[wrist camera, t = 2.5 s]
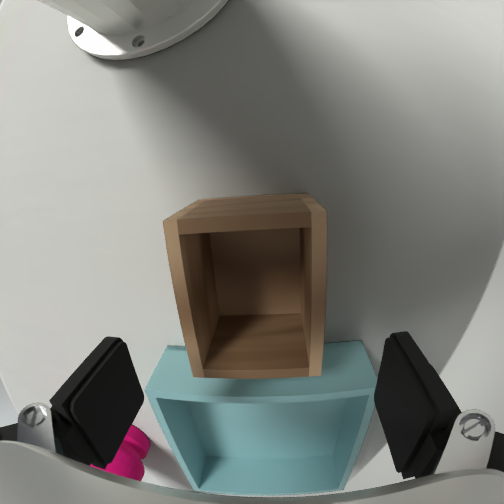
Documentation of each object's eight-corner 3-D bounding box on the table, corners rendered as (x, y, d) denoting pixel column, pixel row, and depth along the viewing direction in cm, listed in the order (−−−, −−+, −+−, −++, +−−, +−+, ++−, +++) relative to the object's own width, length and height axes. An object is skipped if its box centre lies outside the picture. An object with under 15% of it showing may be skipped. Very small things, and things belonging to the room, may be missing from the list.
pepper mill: (161, 435, 25) (106, 594, 6) (147, 458, 27) (102, 587, 8) (99, 403, 24) (19, 549, 5) (94, 431, 26) (32, 552, 7)
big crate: (167, 345, 20) (144, 389, 16) (361, 340, 19) (380, 386, 14) (202, 453, 25) (194, 490, 20) (337, 452, 24) (343, 489, 19)
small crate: (198, 199, 17) (162, 221, 11) (307, 192, 16) (326, 211, 11) (213, 318, 19) (193, 377, 14) (308, 315, 19) (320, 375, 13)
